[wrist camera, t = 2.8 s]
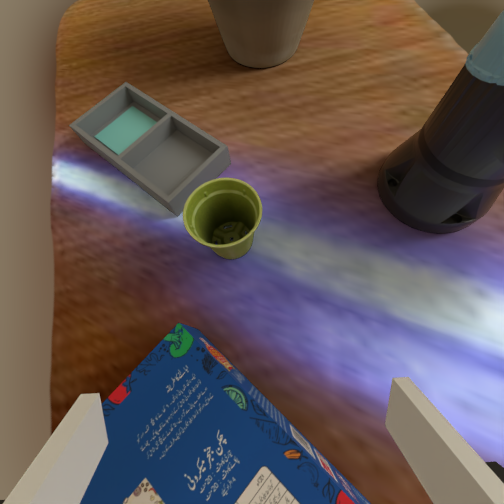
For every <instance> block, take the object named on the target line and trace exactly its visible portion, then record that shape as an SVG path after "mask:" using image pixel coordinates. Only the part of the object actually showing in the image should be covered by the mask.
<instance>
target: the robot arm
mask: <svg viewBox="0 0 504 504" xmlns="http://www.w3.org/2000/svg"><path fill="white" fill-rule="evenodd" d="M503 188H504V11H503V12H502V13H501V14H500V15H499V17H498V18H497V19H496V21H495V22H494V23H493V25H492V26H491V27H490V29H489V30H488V32H487V33H486V34H485V36H484V37H483V38H482V40H481V41H480V42H479V43H478V44H477V45H476V46H475V47H474V48H473V49H472V50H471V52H470V53H469V55H468V57H467V61H466V64H465V65H464V67H463V68H462V70H461V71H460V73H459V74H458V76H457V77H456V79H455V80H454V82H453V83H452V85H451V86H450V88H449V89H448V90H447V92H446V93H445V95H444V96H443V98H442V99H441V101H440V102H439V104H438V105H437V106H436V108H435V109H434V111H433V112H432V114H431V115H430V117H429V118H428V120H427V121H426V123H425V124H424V126H423V127H422V129H421V130H419V131H418V132H417V133H415V134H414V135H413V136H412V137H410V138H409V139H408V140H406V141H405V142H404V143H402V144H401V145H400V146H399V147H397V148H396V149H395V150H394V151H393V152H392V153H391V154H390V155H389V156H388V158H387V159H386V161H385V163H384V164H383V166H382V168H381V170H380V172H379V175H378V190H379V194H380V197H381V199H382V201H383V203H384V204H385V206H386V207H387V208H388V210H389V211H390V212H391V213H392V214H393V215H394V216H395V217H397V218H398V219H399V220H401V221H402V222H404V223H405V224H407V225H409V226H411V227H413V228H416V229H419V230H422V231H426V232H431V233H450V232H455V231H459V230H462V229H464V228H466V227H468V226H469V225H471V224H472V223H474V222H475V221H477V220H478V219H480V218H481V217H483V216H484V215H485V214H486V213H487V212H488V211H489V209H490V208H491V206H492V205H493V203H494V202H495V200H496V199H497V197H498V196H499V194H500V193H501V191H502V190H503ZM385 426H386V428H387V429H388V431H389V433H390V434H391V436H392V437H393V439H394V441H395V442H396V444H397V446H398V447H399V449H400V450H401V452H402V454H403V455H404V457H405V458H406V460H407V462H408V463H409V465H410V466H411V468H412V470H413V471H414V473H415V474H416V476H417V478H418V479H419V481H420V482H421V484H422V486H423V487H424V489H425V491H426V492H427V494H428V495H429V497H430V499H431V500H432V502H433V503H434V504H504V468H503V467H502V466H501V465H499V464H498V463H497V462H484V461H483V460H482V459H481V458H480V456H479V455H478V454H477V453H476V452H475V451H474V450H473V449H472V448H471V446H470V445H469V444H468V443H467V442H466V441H465V440H464V439H463V437H462V436H461V435H460V434H459V433H458V432H457V431H456V430H455V429H454V427H453V426H452V425H451V424H450V423H449V422H448V421H447V420H446V419H445V417H444V416H443V415H442V414H441V413H440V412H439V411H438V410H437V408H436V407H435V406H434V405H433V404H432V403H431V402H430V401H429V400H428V398H427V397H426V396H425V395H424V394H423V393H422V392H421V391H420V389H419V388H418V387H417V386H416V385H415V384H414V383H413V382H412V381H411V379H410V378H409V377H401V378H393V379H392V385H391V391H390V397H389V403H388V409H387V416H386V422H385ZM107 445H108V438H107V433H106V427H105V422H104V416H103V411H102V405H101V399H100V394H99V393H92V394H81V395H80V396H79V397H78V399H77V400H76V402H75V403H74V404H73V406H72V407H71V409H70V410H69V411H68V413H67V414H66V416H65V417H64V418H63V420H62V421H61V423H60V424H59V425H58V427H57V428H56V430H55V431H54V432H53V434H52V435H51V437H50V438H49V439H48V441H47V442H46V444H45V445H44V446H43V448H42V449H41V451H40V452H39V454H38V455H37V456H36V458H35V459H34V460H33V462H32V463H31V465H30V466H29V467H28V469H27V470H26V472H25V473H24V475H23V476H22V478H21V479H20V480H19V482H18V483H17V484H16V486H15V487H14V489H13V490H12V491H11V493H10V494H9V496H8V497H7V498H6V500H0V504H80V502H81V500H82V497H83V495H84V493H85V491H86V489H87V487H88V485H89V483H90V481H91V479H92V476H93V474H94V472H95V470H96V468H97V466H98V464H99V462H100V460H101V457H102V455H103V453H104V451H105V449H106V447H107Z"/></svg>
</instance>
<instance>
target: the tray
mask: <svg viewBox="0 0 504 504" xmlns="http://www.w3.org/2000/svg"><path fill="white" fill-rule="evenodd" d="M69 126H70V127H71V128H72V129H73V130H74V132H75V133H76V134H77V135H78V136H79V137H80V138H81V140H82V141H83V142H84V143H85V144H86V145H88V146H89V147H90V148H91V149H93V150H94V151H95V152H96V153H98V154H99V155H100V156H102V157H103V158H104V159H105V160H107V161H108V162H109V163H110V164H112V165H113V166H114V167H115V168H117V169H118V170H119V171H121V172H122V173H123V174H124V175H126V176H127V177H128V178H129V179H131V180H132V181H133V182H135V183H136V184H137V185H138V186H140V187H141V188H142V189H143V190H145V191H146V192H147V193H148V194H150V195H151V196H152V197H154V198H155V199H156V200H157V201H159V202H160V203H161V204H162V205H164V206H165V207H166V208H167V209H169V210H170V211H171V212H173V213H174V214H175V215H176V216H179V215H180V214H181V213H182V212H183V209H184V205H185V203H186V201H187V199H188V197H189V196H190V195H191V194H192V192H193V191H194V190H195V189H197V188H198V187H199V186H200V185H202V184H204V183H206V182H208V181H211V180H214V179H216V178H217V177H218V176H219V175H220V174H221V173H222V172H223V171H224V170H225V169H226V168H227V167H228V166H229V165H230V164H231V161H230V156H229V151H228V147H227V146H226V145H225V144H223V143H222V142H220V141H218V140H217V139H215V138H214V137H212V136H211V135H209V134H207V133H206V132H204V131H203V130H201V129H200V128H198V127H196V126H195V125H193V124H192V123H190V122H188V121H187V120H185V119H184V118H182V117H181V116H179V115H177V114H176V113H174V112H173V111H171V110H170V109H168V108H166V107H165V106H163V105H162V104H160V103H159V102H157V101H155V100H154V99H152V98H151V97H149V96H148V95H146V94H144V93H143V92H141V91H140V90H138V89H137V88H135V87H133V86H132V85H130V84H129V83H127V82H125V83H124V84H122V85H121V86H120V87H119V88H117V89H116V90H115V91H113V92H112V93H111V94H109V95H108V96H107V97H106V98H104V99H103V100H102V101H100V102H99V103H98V104H96V105H95V106H94V107H92V108H91V109H90V110H89V111H87V112H86V113H85V114H83V115H82V116H81V117H79V118H78V119H77V120H76V121H74V122H73V123H72V124H70V125H69Z"/></svg>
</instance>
